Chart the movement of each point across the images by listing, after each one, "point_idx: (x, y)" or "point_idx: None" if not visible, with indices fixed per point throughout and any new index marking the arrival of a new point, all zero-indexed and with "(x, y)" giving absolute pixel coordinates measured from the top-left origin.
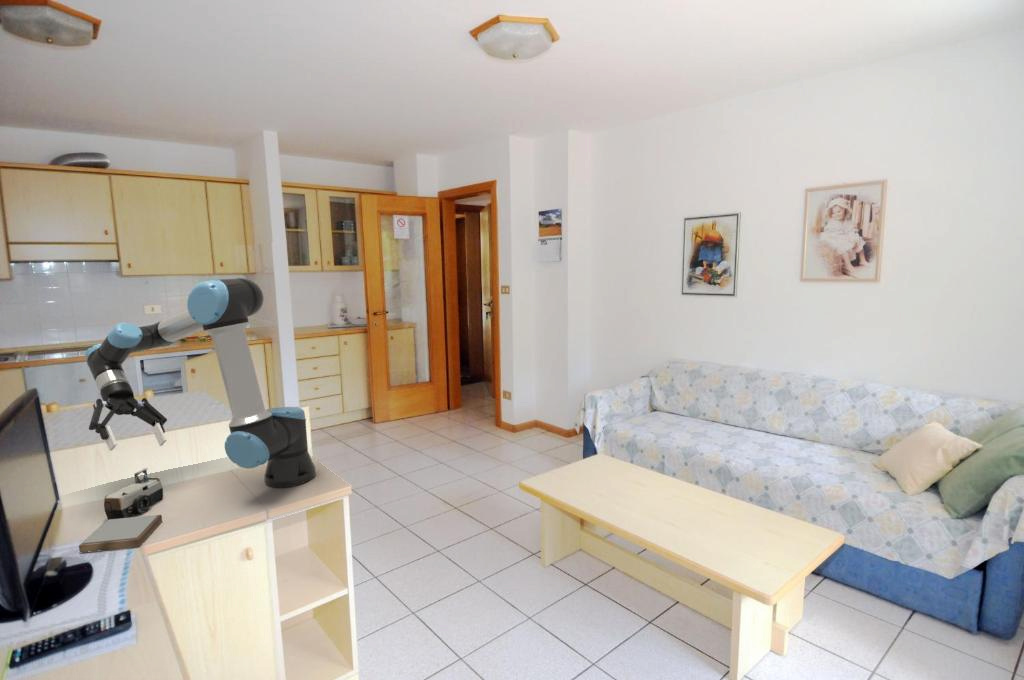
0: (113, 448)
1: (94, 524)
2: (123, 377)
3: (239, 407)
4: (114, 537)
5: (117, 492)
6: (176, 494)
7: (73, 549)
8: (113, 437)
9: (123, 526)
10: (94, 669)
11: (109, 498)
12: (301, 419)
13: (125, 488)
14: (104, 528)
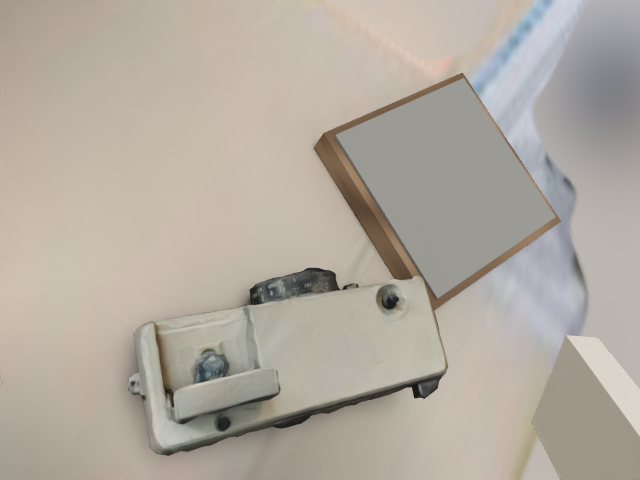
0: (549, 393)
1: (427, 400)
2: None
3: None
4: (493, 147)
5: (388, 363)
6: (70, 321)
7: (540, 275)
8: (636, 414)
9: (442, 186)
10: None
11: (439, 337)
12: None
13: (339, 374)
14: (479, 240)
